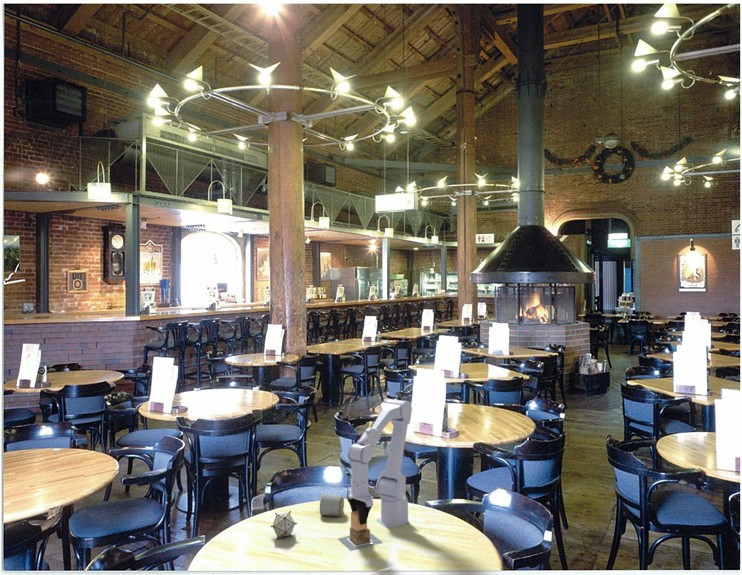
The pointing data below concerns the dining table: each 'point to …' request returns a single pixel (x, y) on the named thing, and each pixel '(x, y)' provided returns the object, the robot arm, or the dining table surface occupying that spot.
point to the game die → (283, 525)
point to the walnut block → (360, 536)
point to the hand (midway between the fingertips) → (359, 521)
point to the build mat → (353, 546)
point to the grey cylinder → (331, 505)
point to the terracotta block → (357, 522)
